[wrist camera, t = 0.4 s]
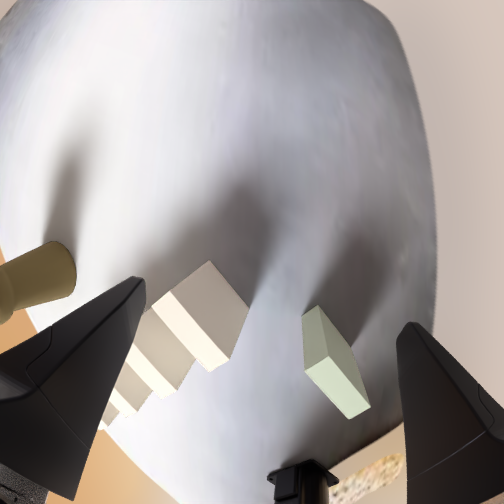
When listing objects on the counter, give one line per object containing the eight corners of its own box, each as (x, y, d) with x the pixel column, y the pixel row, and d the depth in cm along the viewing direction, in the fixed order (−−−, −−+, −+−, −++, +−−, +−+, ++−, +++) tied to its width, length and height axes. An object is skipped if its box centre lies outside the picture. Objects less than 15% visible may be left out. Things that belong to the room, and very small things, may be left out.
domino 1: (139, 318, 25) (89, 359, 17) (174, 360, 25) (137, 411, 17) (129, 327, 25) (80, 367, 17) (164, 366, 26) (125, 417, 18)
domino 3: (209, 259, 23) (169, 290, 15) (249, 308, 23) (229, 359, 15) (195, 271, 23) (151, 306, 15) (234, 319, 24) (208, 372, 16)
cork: (52, 228, 25) (-32, 247, 14) (85, 273, 25) (0, 309, 14) (33, 267, 26) (-41, 293, 15) (62, 308, 26) (-10, 348, 15)
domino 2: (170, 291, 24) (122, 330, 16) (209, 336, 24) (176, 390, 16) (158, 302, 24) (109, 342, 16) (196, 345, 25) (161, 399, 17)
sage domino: (317, 304, 22) (329, 356, 15) (350, 347, 23) (370, 406, 15) (301, 316, 23) (304, 371, 15) (335, 357, 23) (348, 419, 15)
